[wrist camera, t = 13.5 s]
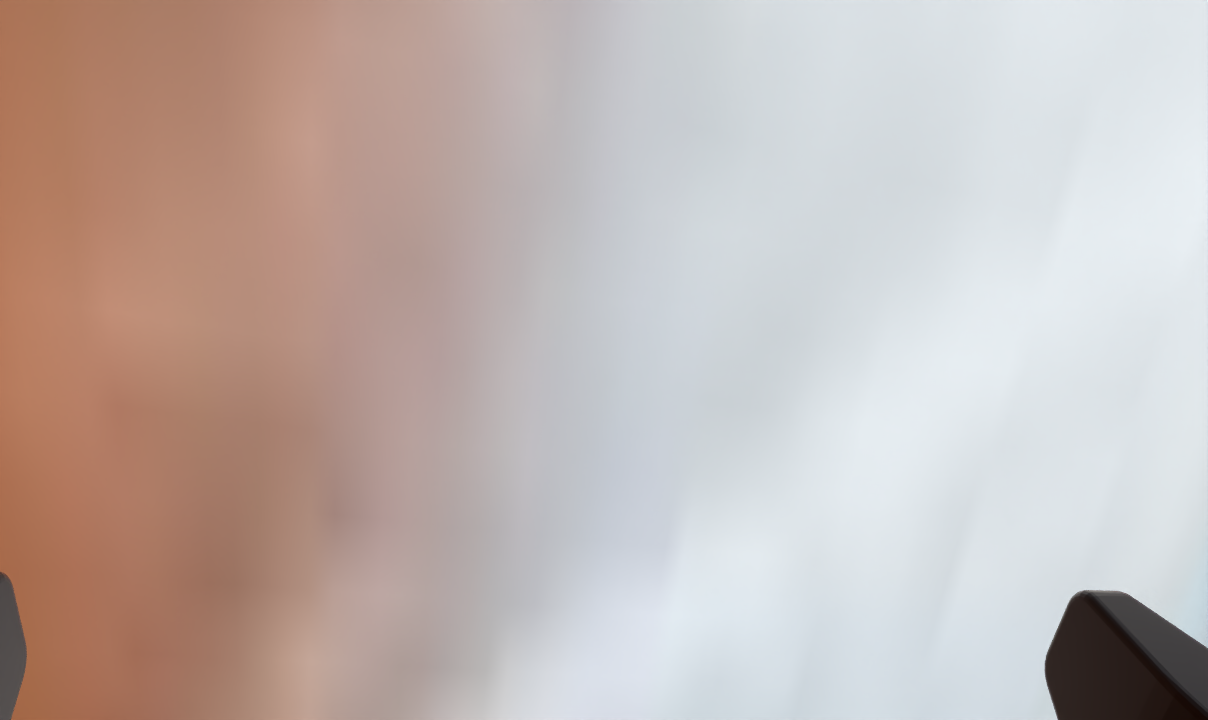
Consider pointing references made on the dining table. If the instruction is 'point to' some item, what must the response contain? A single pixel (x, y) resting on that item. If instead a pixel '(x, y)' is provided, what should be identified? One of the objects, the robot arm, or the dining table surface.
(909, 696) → the dining table surface
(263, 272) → the dining table surface
